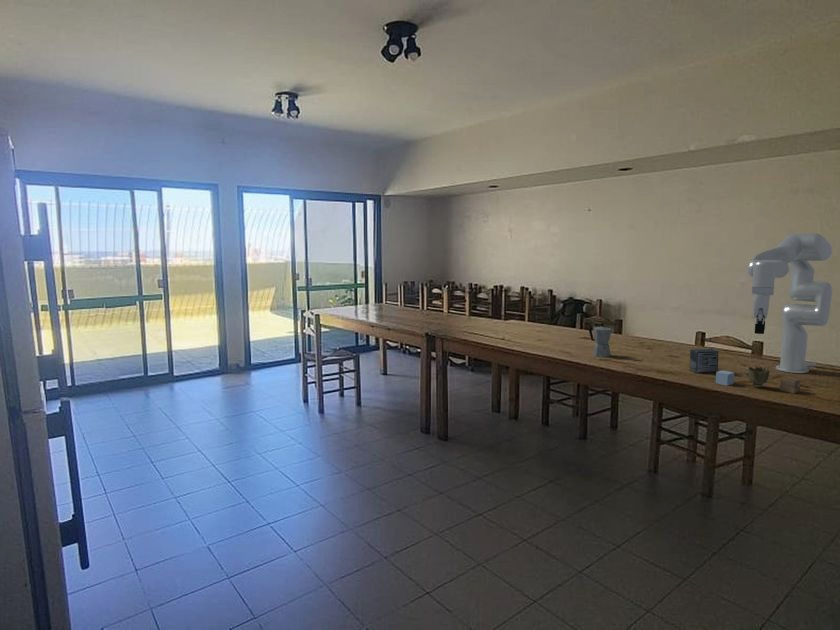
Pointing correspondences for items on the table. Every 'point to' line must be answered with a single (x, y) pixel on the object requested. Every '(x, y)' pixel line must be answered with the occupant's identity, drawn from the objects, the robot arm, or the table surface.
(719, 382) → the slate-blue cube
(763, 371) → the cup
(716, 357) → the small box
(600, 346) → the coffeepot
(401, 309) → the table surface
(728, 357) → the table surface
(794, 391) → the walnut cube
